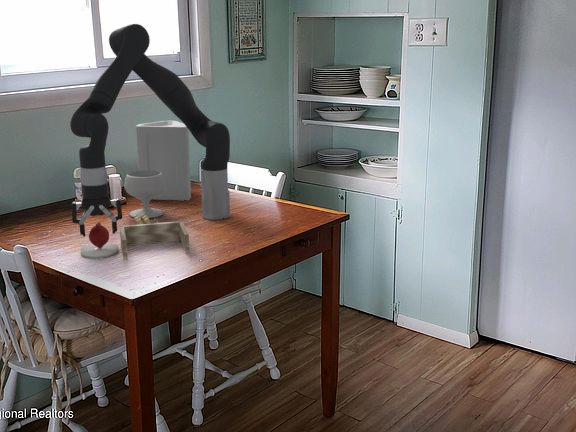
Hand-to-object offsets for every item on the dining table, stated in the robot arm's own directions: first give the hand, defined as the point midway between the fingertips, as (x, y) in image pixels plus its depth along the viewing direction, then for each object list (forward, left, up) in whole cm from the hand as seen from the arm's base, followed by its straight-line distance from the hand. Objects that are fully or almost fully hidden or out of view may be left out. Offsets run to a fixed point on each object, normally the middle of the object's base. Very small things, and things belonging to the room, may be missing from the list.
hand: (99, 234), depth 205 cm
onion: (0, 0, -5) cm, 5 cm away
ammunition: (-16, -19, -6) cm, 25 cm away
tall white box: (-28, -61, -6) cm, 67 cm away
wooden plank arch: (-16, +2, -6) cm, 17 cm away
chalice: (-17, -36, -6) cm, 40 cm away
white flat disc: (0, 0, -6) cm, 6 cm away
